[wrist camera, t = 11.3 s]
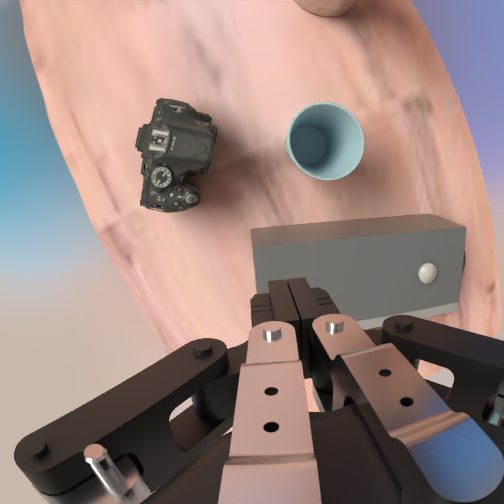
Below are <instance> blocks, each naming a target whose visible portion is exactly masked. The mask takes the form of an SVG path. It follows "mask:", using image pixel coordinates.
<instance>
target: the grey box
mask: <svg viewBox="0 0 504 504" xmlns="http://www.w3.org/2000/svg"><path fill="white" fill-rule="evenodd" d="M465 233H466V227H465V226H462V225H460V224H457V223H454V222H451V221H448V220H446V219H443V218H440V217H437V216H434V215H431V214H422V215H408V216H395V217H381V218H369V219H356V220H344V221H332V222H321V223H309V224H298V225H287V226H277V227H266V228H256V229H251V238H252V249H253V259H254V269H255V279H256V289H257V294H262V293H268V286H267V281H273V280H282V279H286V280H287V279H291V278H301V277H305V278H306V280H307V282H308V284H309V286H310V288H316V287H320V288H321V289H323V290H325V291H327V292H328V294H329V295H330V297H331V299H332V300H333V302H334V303H335V305H336V307H337V308H338V310H339V312H340V313H341V314H342V315H347V316H349V317H351V318H353V319H354V320H355V321H356V322H357V323H358V324H359V326H360V327H361V328H362V329H370V328H376V327H382V324H383V321H384V320H385V319H387V318H388V317H391V316H394V315H410V316H414V317H418V318H421V319H423V318H427V317H432V316H436V315H441V314H445V313H450V312H454V311H457V306H458V299H459V292H460V285H461V277H462V272H463V270H464V266H465V250H464V248H465Z"/></svg>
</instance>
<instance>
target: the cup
mask: <svg viewBox="0 0 504 504" xmlns="http://www.w3.org/2000/svg"><path fill="white" fill-rule="evenodd" d="M364 146H365V141H364V134H363V131H362V128H361V126H360V124H359V122H358V121H357V119H356V118H355V117H354V116H353V114H352V113H350V112H349V111H348V110H347V109H345V108H343V107H341V106H339V105H337V104H334V103H328V102H320V103H314V104H311V105H309V106H307V107H305V108H303V109H302V110H301V111H299V112H298V113H297V114H296V116H295V117H294V118H293V120H292V122H291V124H290V126H289V129H288V133H287V137H286V141H285V147H286V153H287V155H288V156H289V158H290V159H291V161H292V162H293V163H294V164H295V165H297V167H298V168H299V169H301V170H302V171H303V172H304V173H305V174H307V175H309V176H311V177H313V178H316V179H319V180H325V181H330V180H337V179H340V178H343V177H345V176H347V175H348V174H350V173H351V172H352V171H353V170H354V169H355V168H356V167H357V166H358V164H359V163H360V161H361V159H362V156H363V153H364Z"/></svg>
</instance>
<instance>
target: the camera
mask: <svg viewBox="0 0 504 504" xmlns="http://www.w3.org/2000/svg"><path fill="white" fill-rule="evenodd" d="M156 104H157V106H156V107H155V108H154V112H153V116H152V120H151V122H150V123H149V124H144V125H143V127H142V128H141V127H140V128H139V131H138V135H137V140H136V145H135V147H137V150H138V151H141V152H142V154H141V158H143V161H142V168H141V174H142V175H143V177H144V181H143V189H142V196H141V200H140V205H141V206H144V207H146V208H148V209H152V210H157V211H161V212H167V213H170V212H179V211H184V210H187V209H190V208H192V207H194V206H196V205H198V204H199V202H200V200H201V194H200V191H199V190H198V189H197V188H196V187H195V186H194V185H192V184H190V183H189V176H192V175H199V173H200V174H201V175H206V174H207V172H208V168H209V164H210V161H211V157H212V153H213V149H214V144H215V140H216V135H217V127H215V126H211V124H210V122H211V119H212V118H211V117H210V116H209V115H207V114H203V113H199V112H196V110H195V109H194V108H192V107H191V106H190V105H189V104H188V103H184V102H181V101H177V100H172V99H164V98H160V99H158V100H157V101H156Z"/></svg>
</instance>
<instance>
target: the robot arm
mask: <svg viewBox="0 0 504 504" xmlns="http://www.w3.org/2000/svg"><path fill="white" fill-rule="evenodd" d="M295 1H296V3H298V4H299V5H300V6H301V7H302V8H304V9H305V10H307V11H309V12H311V13H313V14H316V15H320V16H327V17H332V16H339V15H342V14H344V13H346V12H347V11H348V10H350V8H351V7H352V6H353V4H354V3H355V2H356V1H357V0H295ZM267 286H268V293H262V294H255V295H254V296H253V298H252V299H251V300H250V302H251V320H252V329H251V330H250V333H249V340H248V341H246V342H245V343H243V344H241V345H239V346H236V347H232V348H229V349H227V347H226V345H225V343H224V342H222V341H220V340H218V339H213V338H203V339H197V340H194V341H191V342H189V343H187V344H185V345H184V346H182V347H181V348H179V349H177V350H176V351H174V352H172V353H171V354H169V355H167V356H166V357H164V358H163V359H161V360H159V361H158V362H156V363H155V364H153V365H151V366H149V367H148V368H146V369H144V370H143V371H141V372H139V373H137V374H136V375H134V376H132V377H131V378H129V379H127V380H126V381H124V382H122V383H121V384H119V385H117V386H115V387H114V388H112V389H110V390H108V391H107V392H105V393H103V394H101V395H100V396H98V397H96V398H94V399H93V400H91V401H89V402H88V403H86V404H84V405H82V406H80V407H79V408H77V409H75V410H74V411H71V412H70V413H68V414H66V415H64V416H62V417H60V418H59V419H57V420H55V421H53V422H52V423H49V424H48V425H46V426H44V427H42V428H40V429H38V430H36V431H35V432H33V433H31V434H29V435H27V436H26V437H24V438H23V439H22V440H21V441H20V442H19V443H18V444H17V446H16V448H15V452H14V459H15V462H16V464H17V465H18V467H19V468H20V469H21V470H22V472H23V473H24V474H25V475H26V477H27V478H28V479H29V480H30V481H31V482H32V485H33V487H34V488H35V489H36V490H37V491H38V493H39V494H40V495H41V496H42V497H43V498H44V499H45V500H46V501H47V502H48V503H49V504H504V341H502V340H498V339H495V338H491V337H487V336H484V335H480V334H476V333H472V332H469V331H465V330H461V329H458V328H454V327H450V326H447V325H443V324H439V323H436V322H432V321H429V320H425V319H421V318H418V317H414V316H410V315H394V316H391V317H388V318H387V319H385V320H384V321H383V324H382V330H364V329H362V328H361V327H360V326H359V324H358V323H357V322H356V321H355V320H354V319H353V318H351V317H349V316H347V315H342V314H341V313H340V312H339V310H338V308H337V307H336V305H335V303H334V302H333V300H332V299H331V297H330V295H329V294H328V292H327V291H325V290H323V289H321V288H320V287H316V288H310V286H309V284H308V282H307V280H306V278H305V277H301V278H291V279H287V280H286V279H282V280H273V281H267ZM420 359H421V360H424V361H427V362H430V363H433V364H436V365H439V366H442V367H445V368H447V369H449V370H450V371H451V372H452V373H453V375H454V383H453V386H452V388H450V387H447V386H444V385H440V384H438V383H435V382H432V381H429V380H426V379H424V378H423V377H422V376H421V375H420V374H419V373H418V372H417V370H418V365H419V360H420ZM307 378H312V381H313V396H314V399H315V401H316V403H317V406H318V408H319V411H320V412H308V405H307V397H306V390H305V383H304V379H307ZM496 394H497V395H496ZM190 397H191V398H192V402H193V405H191V406H190V407H188V408H187V409H186V410H184V411H183V412H182V413H180V414H179V415H178V416H176V417H175V418H174V419H172V420H171V421H169V418H170V415H171V413H172V411H173V410H174V409H175V408H176V407H177V406H179V405H180V404H181V403H183V402H184V401H185V400H187V399H188V398H190ZM232 426H233V430H232V431H231V432H229V433H227V434H225V435H223V434H224V433H226V432H227V431H228V430H229V429H230V428H231V427H232ZM222 435H223V436H222ZM160 486H161V487H160ZM159 487H160V488H159ZM156 489H157V490H156ZM155 490H156V491H155ZM154 491H155V492H154ZM152 492H154V493H152ZM151 493H152V494H151Z"/></svg>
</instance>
